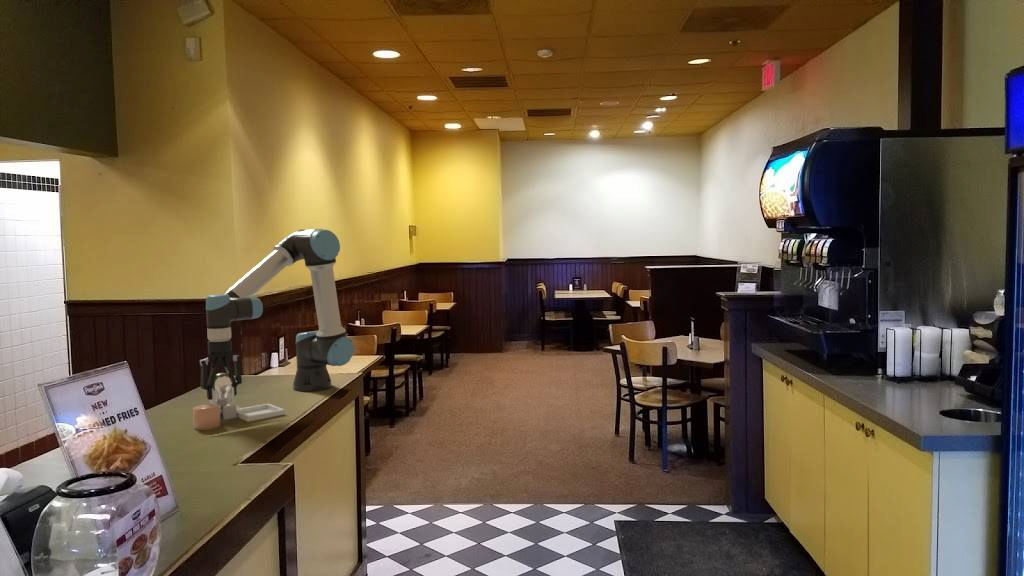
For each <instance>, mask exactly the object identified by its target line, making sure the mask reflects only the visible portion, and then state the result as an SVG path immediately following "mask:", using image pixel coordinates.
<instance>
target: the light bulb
mask: <svg viewBox="0 0 1024 576" xmlns="http://www.w3.org/2000/svg"><path fill="white" fill-rule="evenodd" d="M232 385H233V381H232V378H231V377H230V376H229V375H228V374H227V373H225V372H218V373H216V377H215V380H214V383H213V389H212V390H215V399H216V400H217V404H218V405H220V407H221V408H223V407H225V406H226V405H227V404H229V403H228V402H229V400H228V399H229V391H230V390H231V388H232Z"/></svg>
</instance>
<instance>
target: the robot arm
mask: <svg viewBox="0 0 1024 576" xmlns="http://www.w3.org/2000/svg"><path fill="white" fill-rule="evenodd" d="M340 251H341V244H340V240H339V238H338V236H337V235H336V234H335V233H334V232H333V231H331V230H329V229H323V228H314V229H313V228H312V229H299V230H296V231H293V232H291V233H290V234H288V235H287V236H286V237H284V238H283V239H282V240H280V241H279V242H278V243H277V244H276V245H274V246H273V248H272V252H271V253H269V254H268V255H267V256H265V258H263V259H262V260H261V261H260V262H259V263H258V264H256V265H255V266H254V267H253V268H252V269H251V270H249V271H247V273H246V274H245V275H244V276H242V277H241V278H240V279H239V280H238V281H236V282H235V283H234V284H233V285H232V286H230V287H229V288H228V289H227V290H226V291H225V292H223V293H222V294H209V295H207V296H206V299H205V310H206V311H205V312H206V326H207V327H206V329H207V330H206V331H207V333H206V334H207V340H208V341H207V356H206V358H204V359H200V360H199V361H198V362H199V366H200V389H202V390H206V398H207V400H209V401H210V404H215V400H216V394H215V390H212V389H213V383H214V380H215V377H216V375H217V374H218V373H217V372H218V371H219V368H222V367H223V368H224V370H225V372H226V374H228V375H229V376H230V377H231V378H232V381H233V385H232V388H231V390H230V391H229V394H228V402H229V403H228V404H229V405H236V404H235V396H237V395H238V394H237V393H238V392H237V391H238V390H237V389H238V385H241V384H242V383H243V379H242V369H241V360H242V356H241V355H239V354H233V352H232V351H233V343H232V340H231V339H232V323H231V322H234V321H244V320H253V319H257V318H260V317H262V314H263V311H264V308H263V307H264V306H263V302H262V301H261V299H260V298H259V297H253V296H254V295H255V294H256V293H258V292H259V291H260V290H261V289H262V288H264V286H266V285H267V284H268V283H269V282H270V281H271V280H273V279H274V278H275V277H276V276H277V275H278V274H279V273H280V272H282V271H283V270H284V269H285V268H286V267H291V266H293V265H294V264H295V263H296V262H299V261H302V260H304V265H305V267H306V268H307V269H308V270H309V272H310V277H311V278H310V279H311V285H312V291H313V298H314V305H315V311H316V318H317V325H318V330H314V331H305V332H300V333H297V334H296V336H295V353H296V372H295V376H294V379H293V382H292V389H293V390H295V391H299V392H313V391H323V390H326V389H329V388H331V387H332V379H331V376H330V373H329V371H328V369H327V365H328V366H331V367H342V366H344V365H347V364H348V363H349V362H350V361H351V359H352V358H353V356H354V353H355V344H354V342H353V340H352V339H351V338H350V337H348V336H347V330H346V328H344V327H343V326H342V323H341V316H340V310H339V302H338V301H339V300H338V293H337V288H336V280H335V273H334V265H335V264H336V263H337V259H336V258H337V257H338V255H339V253H340ZM232 361H233V368H234V372H233V371H232V366H231V362H232ZM209 363H210V364H211V366H210V371H209V375H208V364H209Z"/></svg>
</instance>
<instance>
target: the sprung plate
mask: <svg viewBox="0 0 1024 576" xmlns="http://www.w3.org/2000/svg"><path fill="white" fill-rule="evenodd" d="M226 406H231V405H229V403H228V404H227V405H226ZM226 406H225V407H226ZM241 408H242V407H241V406H238V405H236V411H241ZM220 414H223V408H221V407H220Z"/></svg>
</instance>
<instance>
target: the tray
mask: <svg viewBox="0 0 1024 576" xmlns="http://www.w3.org/2000/svg"><path fill="white" fill-rule="evenodd" d="M285 415H286V409H285V408H282V407H279V406H276V405H274V404H271V403H262V404H258V405H253V406H248V407H247V406H246V407H241V411H237V417H239V418H238V419H239V420H242V421H245V422H246V423H250V422H255V421H262V420H266V419H271V418H277V417H281V416H285Z"/></svg>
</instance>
